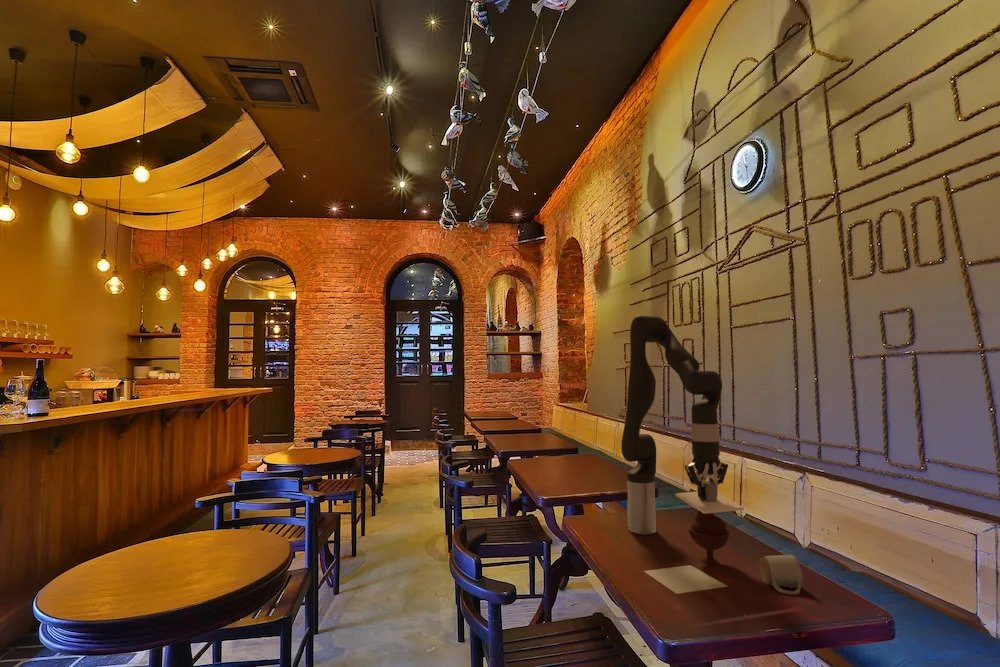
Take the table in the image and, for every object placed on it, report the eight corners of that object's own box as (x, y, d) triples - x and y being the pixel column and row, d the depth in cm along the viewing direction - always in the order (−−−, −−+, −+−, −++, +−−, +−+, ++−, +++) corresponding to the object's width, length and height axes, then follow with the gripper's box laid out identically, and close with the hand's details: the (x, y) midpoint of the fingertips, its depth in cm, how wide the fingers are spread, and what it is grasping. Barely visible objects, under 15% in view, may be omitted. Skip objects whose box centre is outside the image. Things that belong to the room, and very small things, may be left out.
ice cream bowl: (688, 567, 143) (686, 513, 144) (693, 554, 153) (691, 504, 154) (729, 574, 138) (726, 517, 139) (731, 560, 148) (729, 508, 149)
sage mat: (643, 573, 139) (643, 571, 139) (690, 567, 143) (690, 565, 143) (676, 596, 125) (676, 593, 125) (727, 588, 129) (727, 586, 129)
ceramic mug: (758, 579, 134) (756, 549, 135) (791, 580, 133) (789, 550, 134) (774, 597, 124) (773, 565, 124) (810, 598, 123) (808, 566, 123)
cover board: (675, 495, 151) (676, 476, 151) (712, 492, 155) (713, 474, 154) (704, 513, 139) (705, 493, 138) (743, 509, 142) (744, 489, 142)
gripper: (716, 436, 154) (719, 494, 152) (676, 438, 150) (678, 498, 149) (734, 439, 147) (737, 500, 145) (692, 441, 143) (695, 504, 141)
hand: (707, 498), depth 147 cm, fingers closed on cover board, 3 cm apart
